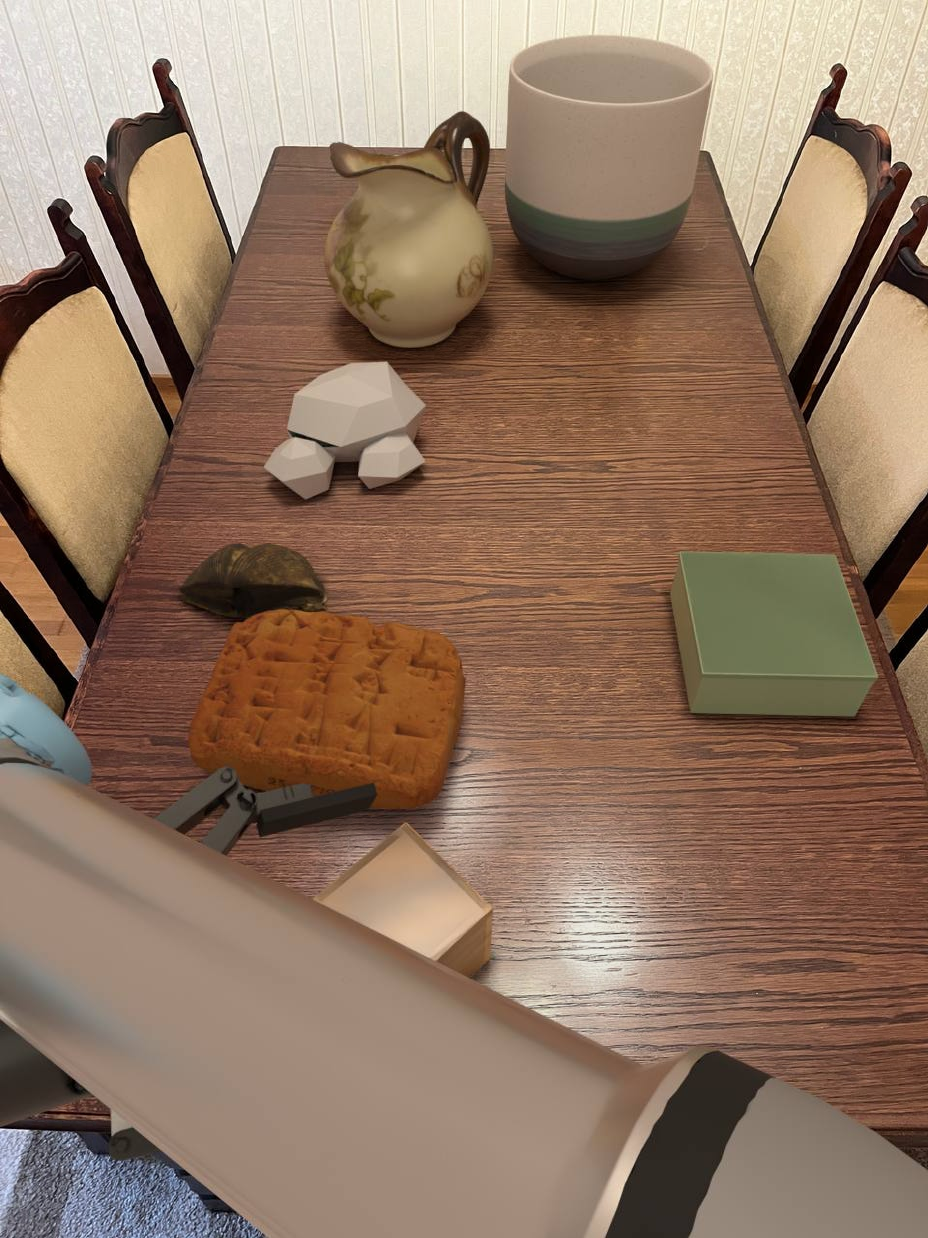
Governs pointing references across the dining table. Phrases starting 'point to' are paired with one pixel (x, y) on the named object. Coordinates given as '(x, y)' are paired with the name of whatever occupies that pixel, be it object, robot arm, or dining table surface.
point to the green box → (769, 635)
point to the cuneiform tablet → (332, 706)
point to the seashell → (254, 582)
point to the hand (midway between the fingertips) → (406, 911)
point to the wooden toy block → (415, 902)
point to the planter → (602, 150)
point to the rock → (350, 429)
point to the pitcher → (412, 236)
